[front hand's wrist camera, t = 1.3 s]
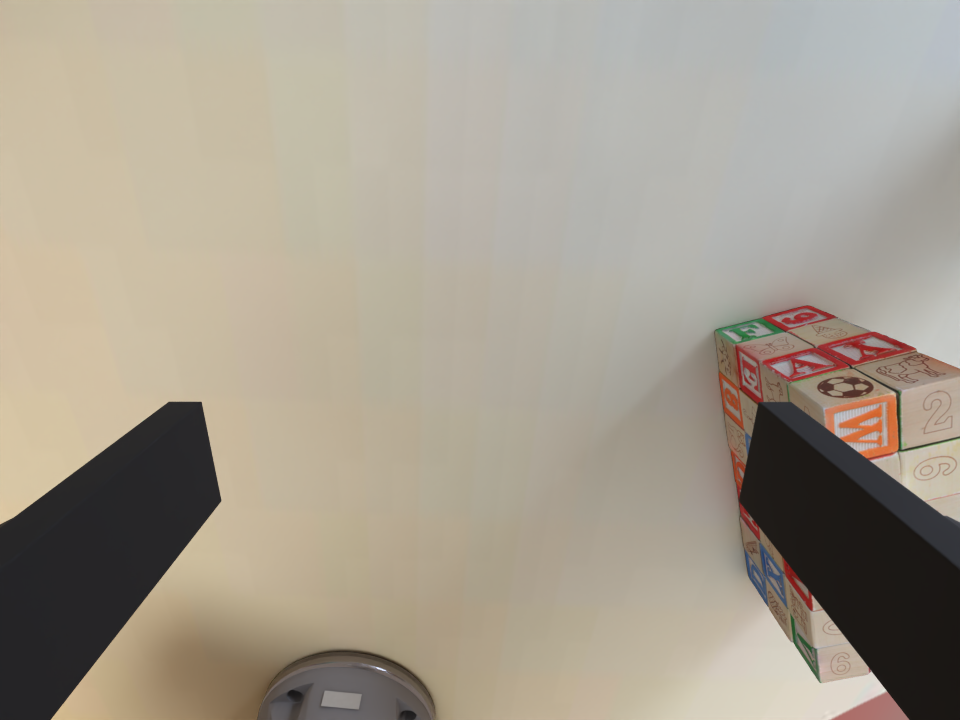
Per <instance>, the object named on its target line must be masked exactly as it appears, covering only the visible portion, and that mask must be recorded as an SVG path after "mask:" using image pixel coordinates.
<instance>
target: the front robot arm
mask: <svg viewBox="0 0 960 720" xmlns="http://www.w3.org/2000/svg"><path fill="white" fill-rule="evenodd" d="M220 502H221V497H220V492H219V487H218V482H217V477H216V472H215V467H214V462H213V457H212V452H211V447H210V442H209V437H208V432H207V427H206V422H205V417H204V412H203V407H202V402H168V403H167V404H165V405H164V406H163V407H161V408H160V409H159V410H157V411H156V412H155V413H153V414H152V415H151V416H149V417H148V418H147V419H145V420H144V421H143V422H141V423H140V424H139V425H137V426H136V427H135V428H133V429H132V430H131V431H129V432H128V433H127V434H125V435H124V436H123V437H121V438H120V439H119V440H117V441H116V442H115V443H113V444H112V445H111V446H109V447H108V448H106V449H105V450H104V451H102V452H101V453H100V454H98V455H97V456H96V457H94V458H93V459H92V460H90V461H89V462H88V463H86V464H85V465H84V466H82V467H81V468H80V469H78V470H77V471H76V472H74V473H73V474H72V475H70V476H69V477H68V478H66V479H65V480H64V481H62V482H61V483H60V484H58V485H57V486H56V487H54V488H53V489H52V490H50V491H49V492H48V493H46V494H45V495H43V496H42V497H41V498H39V499H38V500H37V501H35V502H34V503H33V504H31V505H30V506H29V507H27V508H26V509H25V510H23V511H22V512H21V513H19V514H18V515H17V516H15V517H14V518H12V519H10V520H8V521H6V522H4V523H2V524H0V720H51V718H52V717H53V716H54V715H55V713H56V712H57V711H58V709H59V708H60V707H61V706H62V704H63V703H64V702H65V701H66V699H67V698H68V697H69V695H70V694H71V693H72V692H73V690H74V689H75V688H76V686H77V685H78V684H79V683H80V681H81V680H82V679H83V677H84V676H85V675H86V674H87V672H88V671H89V670H90V669H91V667H92V666H93V665H94V663H95V662H96V661H97V660H98V658H99V657H100V656H101V654H102V653H103V652H104V651H105V649H106V648H107V647H108V645H109V644H110V643H111V642H112V640H113V639H114V638H115V637H116V635H117V634H118V633H119V631H120V630H121V629H122V628H123V626H124V625H125V624H126V622H127V621H128V620H129V619H130V617H131V616H132V615H133V613H134V612H135V611H136V610H137V608H138V607H139V606H140V605H141V603H142V602H143V601H144V599H145V598H146V597H147V596H148V594H149V593H150V592H151V590H152V589H153V588H154V587H155V585H156V584H157V583H158V581H159V580H160V579H161V578H162V576H163V575H164V574H165V572H166V571H167V570H168V569H169V567H170V566H171V565H172V564H173V562H174V561H175V560H176V558H177V557H178V556H179V555H180V553H181V552H182V551H183V549H184V548H185V547H186V546H187V544H188V543H189V542H190V540H191V539H192V538H193V537H194V535H195V534H196V533H197V532H198V530H199V529H200V528H201V526H202V525H203V524H204V523H205V521H206V520H207V519H208V517H209V516H210V515H211V514H212V512H213V511H214V510H215V508H216V507H217V506H218V505H219V503H220ZM739 502H740V503H741V505H742V506H743V507H744V508H745V510H746V511H747V512H748V514H749V515H750V516H751V517H752V519H753V520H754V521H755V523H756V524H757V525H758V526H759V528H760V529H761V530H762V532H763V533H764V534H765V535H766V537H767V538H768V539H769V540H770V542H771V543H772V544H773V546H774V547H775V548H776V549H777V551H778V552H779V553H780V555H781V556H782V557H783V558H784V560H785V561H786V562H787V564H788V565H789V566H790V567H791V569H792V570H793V571H794V572H795V574H796V575H797V576H798V578H799V579H800V580H801V581H802V583H803V584H804V585H805V587H806V588H807V589H808V590H809V592H810V593H811V594H812V596H813V597H814V598H815V599H816V601H817V602H818V603H819V605H820V606H821V607H822V608H823V610H824V611H825V612H826V613H827V615H828V616H829V617H830V619H831V620H832V621H833V622H834V624H835V625H836V626H837V628H838V629H839V630H840V631H841V633H842V634H843V635H844V637H845V638H846V639H847V640H848V642H849V643H850V644H851V645H852V647H853V648H854V649H855V651H856V652H857V653H858V654H859V656H860V657H861V658H862V660H863V661H864V662H865V663H866V665H867V666H868V667H869V669H870V670H871V671H872V672H873V674H874V675H875V676H876V677H877V679H878V680H879V681H880V683H881V684H882V685H883V686H884V688H885V689H886V690H887V692H888V693H889V694H890V695H891V697H892V698H893V699H894V701H895V702H896V703H897V704H898V706H899V707H900V708H901V709H902V711H903V712H904V713H905V715H906V716H907V717H908V718H909V720H960V522H958V521H956V520H954V519H952V518H950V517H948V516H943V515H942V514H941V513H939V512H938V511H937V510H935V509H934V508H933V507H931V506H930V505H929V504H927V503H926V502H925V501H923V500H922V499H921V498H919V497H918V496H917V495H915V494H914V493H912V492H911V491H910V490H908V489H907V488H906V487H904V486H903V485H902V484H900V483H899V482H898V481H896V480H895V479H894V478H892V477H891V476H890V475H888V474H887V473H886V472H884V471H883V470H882V469H880V468H879V467H878V466H876V465H875V464H874V463H872V462H871V461H870V460H868V459H867V458H866V457H864V456H863V455H862V454H860V453H859V452H858V451H856V450H855V449H854V448H852V447H851V446H849V445H848V444H847V443H845V442H844V441H843V440H841V439H840V438H839V437H837V436H836V435H835V434H833V433H832V432H831V431H829V430H828V429H827V428H825V427H824V426H823V425H821V424H820V423H819V422H817V421H816V420H815V419H813V418H812V417H811V416H809V415H808V414H807V413H805V412H804V411H803V410H801V409H800V408H799V407H797V406H796V405H795V404H793V403H792V402H758V407H757V412H756V417H755V422H754V427H753V432H752V437H751V442H750V447H749V452H748V457H747V462H746V467H745V472H744V477H743V482H742V487H741V492H740V497H739ZM257 720H435V709H434V705H433V702H432V699H431V697H430V695H429V693H428V692H427V690H426V689H425V687H424V686H423V685H422V684H421V683H420V682H419V681H418V680H417V679H416V678H415V677H414V676H413V675H412V674H411V673H409V672H408V671H406V670H405V669H403V668H401V667H400V666H398V665H396V664H394V663H392V662H390V661H387V660H385V659H382V658H379V657H376V656H372V655H368V654H362V653H356V652H328V653H322V654H317V655H313V656H309V657H306V658H303V659H301V660H299V661H297V662H295V663H293V664H291V665H289V666H288V667H286V668H285V669H284V670H282V671H281V672H280V673H279V674H278V675H277V676H276V677H275V678H274V680H273V681H272V682H271V684H270V686H269V688H268V690H267V692H266V694H265V697H264V699H263V702H262V704H261V707H260V710H259V714H258V718H257Z"/></svg>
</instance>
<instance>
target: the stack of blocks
mask: <svg viewBox="0 0 960 720" xmlns="http://www.w3.org/2000/svg"><path fill="white" fill-rule="evenodd" d="M715 340H716V347H717V355H718V363H719V369H720V372H719V379H720V386H721V393H722V400H723V407H724V415H725V424H726V430H727V437H728V444H729V447H730V449H731V455H732V460H733V468H734V475H735V481H736V483H737V490H738V498H739V497H740V492H741V487H742V482H743V477H744V472H745V467H746V462H747V457H748V452H749V447H750V442H751V437H752V432H753V427H754V422H755V417H756V412H757V407H758V402H792V403H793V404H795V405H796V406H797V407H799V408H800V409H801V410H803V411H804V412H805V413H807V414H808V415H809V416H811V417H812V418H813V419H815V420H816V421H817V422H819V423H820V424H821V425H823V426H824V427H825V428H827V429H828V430H829V431H831V432H832V433H833V434H835V435H836V436H837V437H839V438H840V439H841V440H843V441H844V442H845V443H847V444H848V445H849V446H851V447H852V448H854V449H855V450H856V451H858V452H859V453H860V454H862V455H863V456H864V457H866V458H867V459H868V460H870V461H871V462H872V463H874V464H875V465H876V466H878V467H879V468H880V469H882V470H883V471H884V472H886V473H887V474H888V475H890V476H891V477H892V478H894V479H895V480H896V481H898V482H899V483H900V484H902V485H903V486H904V487H906V488H907V489H908V490H910V491H911V492H912V493H914V494H915V495H917V496H918V497H919V498H921V499H922V500H923V501H925V502H926V503H927V504H929V505H930V506H931V507H933V508H934V509H935V510H937V511H938V512H939V513H941V514H942V515H943V516H948V517H950V518H952V519H954V520H956V521H958V522H960V369H959V368H956V367H954V366H951V365H949V364H946V363H944V362H942V361H939V360H937V359H934V358H932V357H929V356H927V355H924V354H921V353H918V352H917V350H916V348H914V347H911V346H909V345H907V344H905V343H902V342H899V341H897V340H895V339H892V338H889V337H888V336H885V335H882V334H879V333H877V332H871V331H869V330H867V329H864V328H861V327H859V326H856V325H854V324H851V323H849V322H847V321H844V320H841V319H838V317H835V316H834V315H831V314H829V313H827V312H823V311H821V310H819V309H817V308H814V307H812V306H803V307H799V308H795V309H791V310H788V311H784V312H780V313H776V314H773V315H769V316H765V317H763V318H762V319H757V320H752V321H748V322H744V323H741V324H737V325H733V326H729V327H725V328H721V329H717V330H715ZM739 505H740V512H741V517H740V522H741V529H742V537H743V544H744V548H745V556H746V563H747V569H748V576H749V578H750V580H751V582H752V583H753V585H754V586H755V588H756V589H757V591H758V592H759V594H760V595H761V597H762V598H763V600H764V602H765V603H766V604H767V606H768V607H769V610H770V611H771V613H772V614H773V616H774V617H775V619H776V620H777V622H778V624H779V625H780V627H781V628H782V630H783V631H784V633H785V634H786V636H787V637H788V639H789V640H790V641H791V642H793V643H794V644H795V646H796V648H797V649H798V651H799V652H800V654H801V655H802V657H803V658H804V660H805V661H806V663H807V664H808V666H809V667H810V669H811V671H812V672H813V673H814V675H815V676H816V678H817V679H818V681H819V682H820V683H825V682H831V681H835V680H841V679H846V678H851V677H857V676H863V675H867V674H869V673H870V672H872V671H871V670H870V669H869V667H868V666H867V665H866V663H865V662H864V661H863V660H862V658H861V657H860V656H859V654H858V653H857V652H856V651H855V649H854V648H853V647H852V645H851V644H850V643H849V642H848V640H847V639H846V638H845V637H844V635H843V634H842V633H841V631H840V630H839V629H838V628H837V626H836V625H835V624H834V622H833V621H832V620H831V619H830V617H829V616H828V615H827V613H826V612H825V611H824V610H823V608H822V607H821V606H820V605H819V603H818V602H817V601H816V599H815V598H814V597H813V596H812V594H811V593H810V592H809V590H808V589H807V588H806V587H805V585H804V584H803V583H802V581H801V580H800V579H799V578H798V576H797V575H796V574H795V572H794V571H793V570H792V569H791V567H790V566H789V565H788V564H787V562H786V561H785V560H784V558H783V557H782V556H781V555H780V553H779V552H778V551H777V549H776V548H775V547H774V546H773V544H772V543H771V542H770V540H769V539H768V538H767V537H766V535H765V534H764V533H763V532H762V530H761V529H760V528H759V526H758V525H757V524H756V523H755V521H754V520H753V519H752V517H751V516H750V515H749V514H748V512H747V511H746V510H745V508H744V507H743V506H742V505H741V503H740V502H739Z"/></svg>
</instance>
